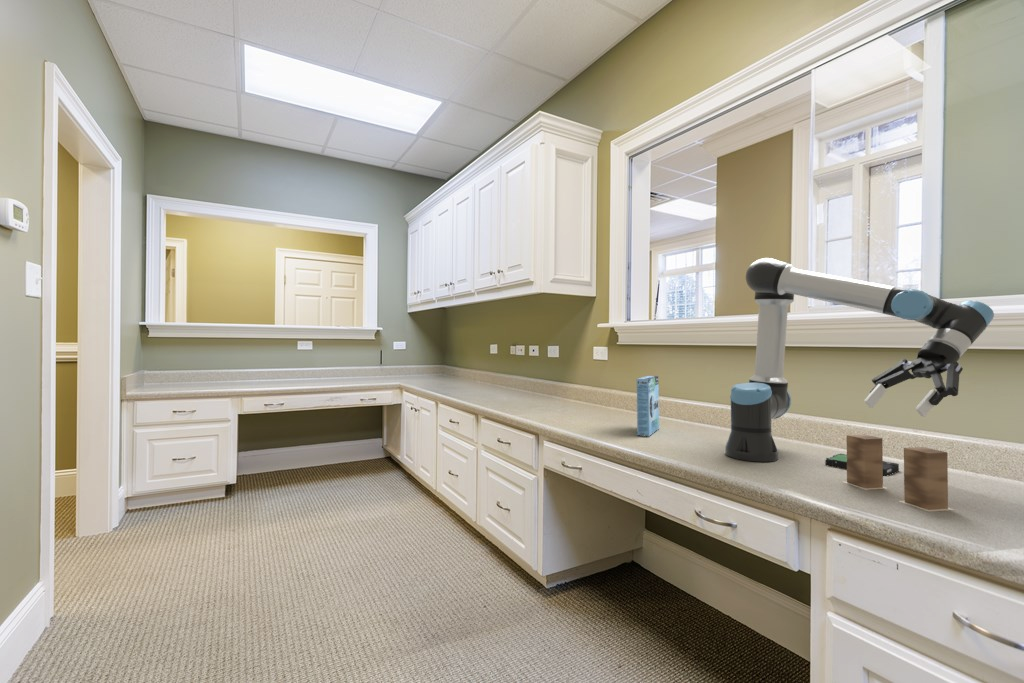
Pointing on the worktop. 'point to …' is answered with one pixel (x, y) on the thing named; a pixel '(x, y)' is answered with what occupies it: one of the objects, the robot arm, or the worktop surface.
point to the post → (864, 461)
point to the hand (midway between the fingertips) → (892, 408)
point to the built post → (926, 478)
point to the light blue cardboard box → (647, 405)
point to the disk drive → (841, 462)
